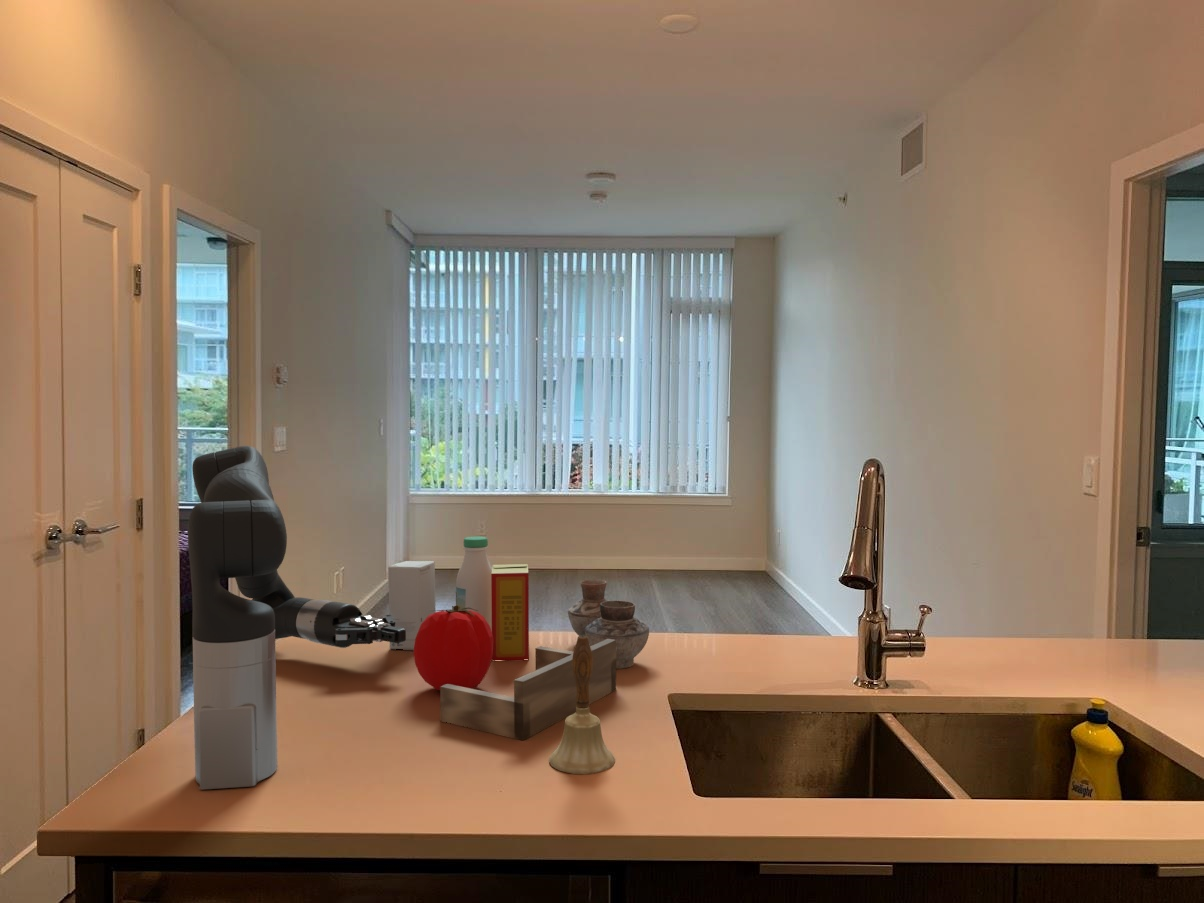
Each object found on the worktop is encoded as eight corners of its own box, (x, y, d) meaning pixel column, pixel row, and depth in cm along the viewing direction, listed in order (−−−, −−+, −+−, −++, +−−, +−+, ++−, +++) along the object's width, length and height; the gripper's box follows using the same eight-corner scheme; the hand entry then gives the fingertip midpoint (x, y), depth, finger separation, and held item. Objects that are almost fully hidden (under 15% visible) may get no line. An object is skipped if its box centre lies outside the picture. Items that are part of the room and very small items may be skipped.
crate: (440, 721, 124) (440, 665, 124) (540, 675, 146) (540, 628, 145) (523, 740, 117) (523, 681, 116) (616, 689, 138) (616, 639, 138)
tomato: (417, 705, 131) (416, 617, 131) (411, 680, 143) (410, 600, 143) (500, 697, 135) (500, 612, 134) (488, 673, 147) (487, 595, 146)
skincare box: (419, 651, 161) (419, 567, 160) (386, 649, 162) (385, 566, 161) (437, 640, 169) (436, 560, 168) (405, 638, 170) (404, 559, 169)
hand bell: (628, 761, 110) (628, 636, 109) (580, 780, 104) (580, 648, 103) (583, 743, 116) (583, 624, 115) (535, 761, 110) (535, 635, 109)
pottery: (612, 635, 173) (612, 575, 172) (659, 670, 149) (659, 601, 148) (557, 639, 169) (557, 578, 169) (596, 676, 146) (595, 605, 145)
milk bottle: (500, 636, 172) (499, 535, 171) (491, 646, 164) (490, 540, 163) (461, 635, 172) (461, 534, 172) (451, 645, 165) (450, 540, 164)
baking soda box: (528, 660, 155) (528, 570, 154) (491, 661, 154) (491, 571, 154) (528, 646, 164) (527, 561, 164) (493, 647, 164) (492, 562, 163)
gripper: (298, 609, 147) (373, 622, 139) (357, 594, 159) (429, 606, 150) (299, 652, 148) (373, 668, 139) (357, 635, 159) (430, 649, 150)
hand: (402, 636), depth 144 cm, fingers closed
